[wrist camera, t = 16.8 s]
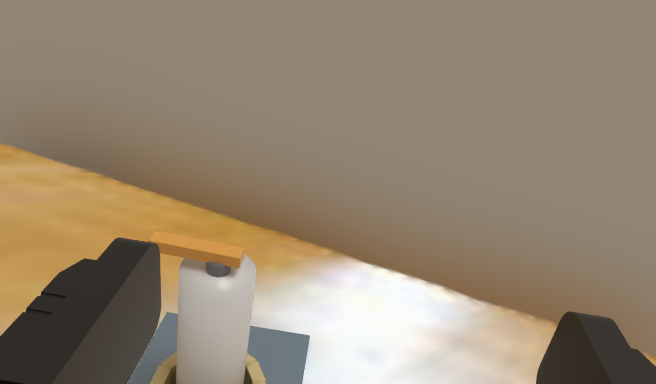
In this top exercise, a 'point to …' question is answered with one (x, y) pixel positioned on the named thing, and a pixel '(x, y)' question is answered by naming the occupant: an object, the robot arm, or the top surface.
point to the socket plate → (260, 347)
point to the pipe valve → (211, 308)
